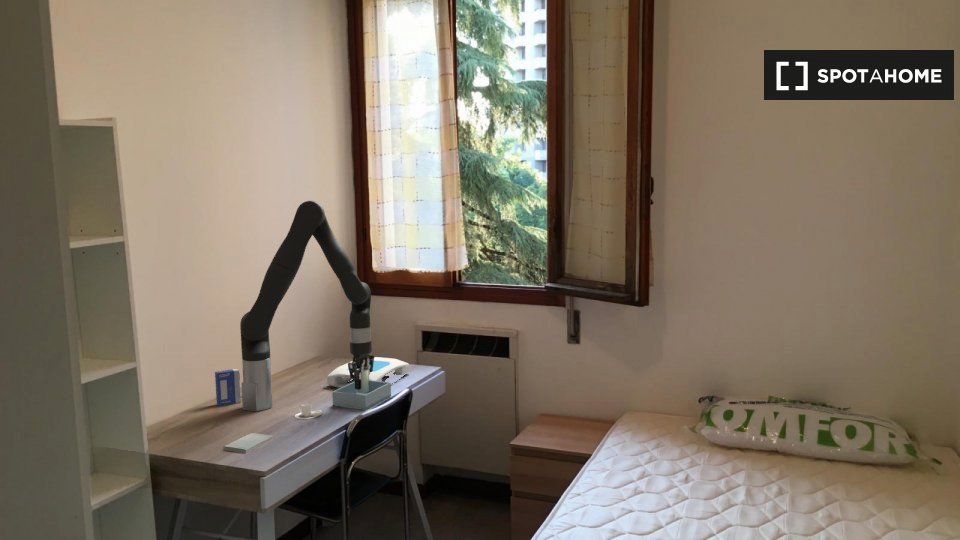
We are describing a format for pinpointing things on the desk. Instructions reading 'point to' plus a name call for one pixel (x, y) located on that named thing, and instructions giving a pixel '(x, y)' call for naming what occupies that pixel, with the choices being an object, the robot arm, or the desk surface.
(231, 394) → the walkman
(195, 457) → the desk surface
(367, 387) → the mint green capsule
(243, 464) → the desk surface
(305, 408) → the teacup and saucer
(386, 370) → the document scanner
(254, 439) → the hard drive
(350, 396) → the bin
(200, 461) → the desk surface
